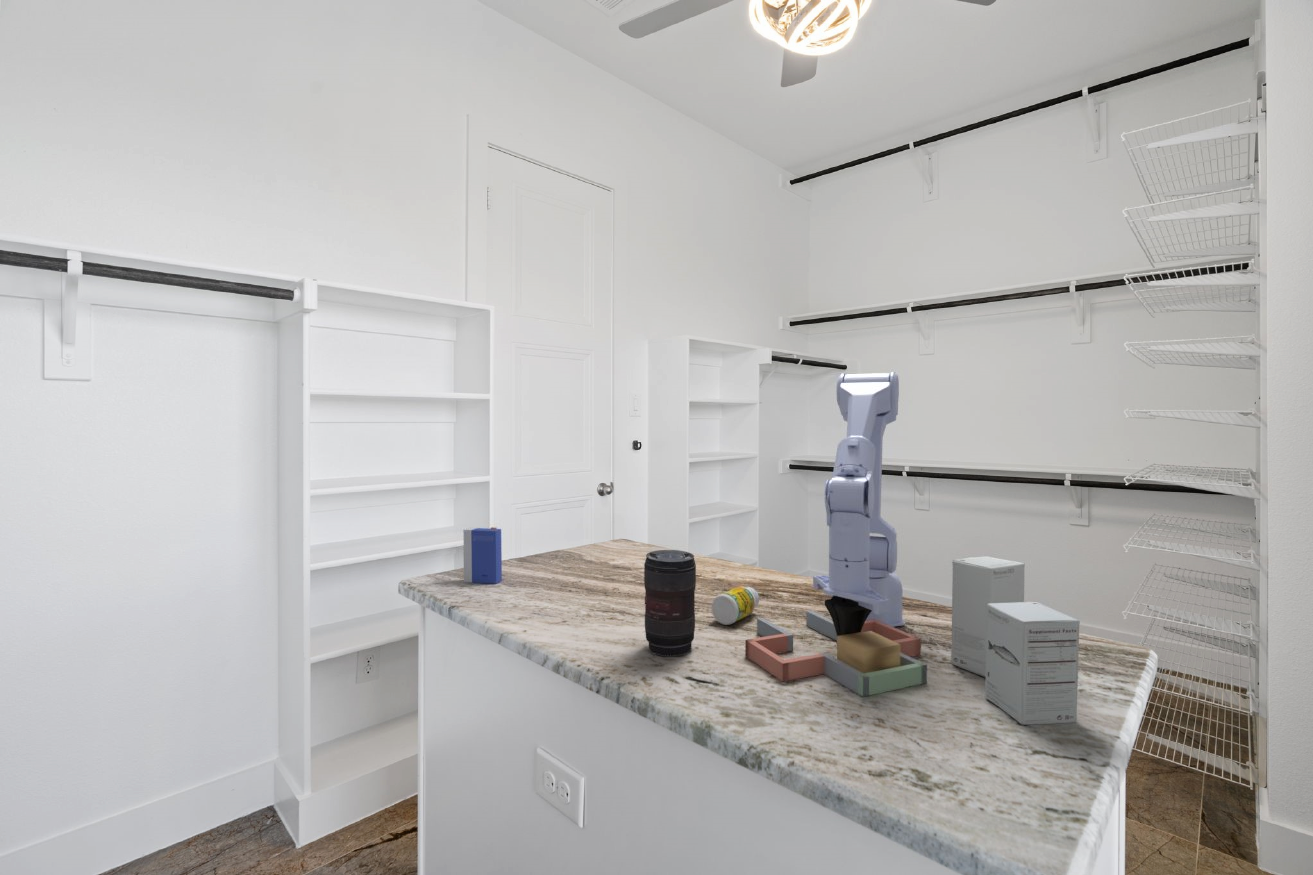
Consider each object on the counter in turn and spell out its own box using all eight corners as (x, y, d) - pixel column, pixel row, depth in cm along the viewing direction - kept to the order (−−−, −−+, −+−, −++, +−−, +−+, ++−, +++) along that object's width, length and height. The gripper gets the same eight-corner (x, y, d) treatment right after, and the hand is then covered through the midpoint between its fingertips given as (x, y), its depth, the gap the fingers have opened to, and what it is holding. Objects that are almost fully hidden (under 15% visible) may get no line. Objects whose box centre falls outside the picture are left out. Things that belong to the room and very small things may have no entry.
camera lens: (648, 660, 94) (647, 561, 94) (641, 641, 102) (641, 550, 102) (700, 657, 95) (700, 559, 95) (690, 638, 103) (690, 548, 103)
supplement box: (983, 698, 81) (984, 602, 81) (1036, 696, 82) (1038, 600, 82) (1020, 726, 74) (1022, 620, 74) (1079, 723, 75) (1081, 618, 74)
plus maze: (843, 619, 113) (843, 605, 113) (964, 674, 89) (964, 657, 89) (720, 638, 103) (720, 623, 103) (818, 706, 79) (818, 686, 79)
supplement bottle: (716, 628, 111) (743, 615, 118) (740, 621, 108) (766, 608, 115) (706, 598, 112) (733, 587, 119) (730, 591, 109) (756, 580, 116)
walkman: (501, 580, 140) (501, 527, 139) (496, 584, 137) (495, 529, 137) (469, 578, 141) (469, 526, 141) (463, 582, 139) (462, 528, 138)
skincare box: (988, 680, 87) (990, 568, 86) (947, 663, 93) (948, 559, 92) (1025, 668, 91) (1027, 562, 90) (983, 653, 97) (985, 553, 96)
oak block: (870, 664, 93) (870, 630, 92) (899, 680, 87) (900, 644, 87) (836, 670, 90) (837, 635, 90) (864, 686, 85) (865, 650, 85)
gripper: (797, 550, 97) (796, 636, 98) (860, 571, 84) (859, 671, 85) (834, 546, 100) (833, 630, 101) (901, 566, 87) (900, 663, 87)
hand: (848, 648), depth 93 cm, fingers closed
